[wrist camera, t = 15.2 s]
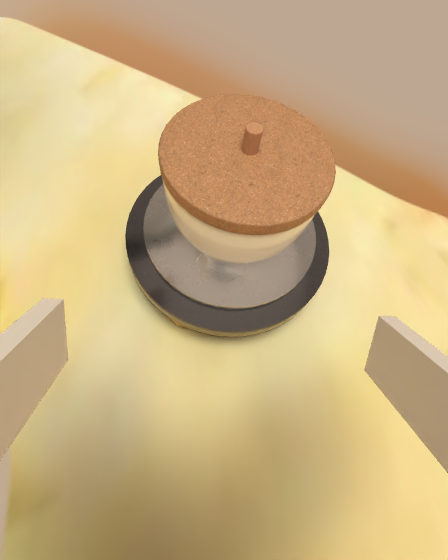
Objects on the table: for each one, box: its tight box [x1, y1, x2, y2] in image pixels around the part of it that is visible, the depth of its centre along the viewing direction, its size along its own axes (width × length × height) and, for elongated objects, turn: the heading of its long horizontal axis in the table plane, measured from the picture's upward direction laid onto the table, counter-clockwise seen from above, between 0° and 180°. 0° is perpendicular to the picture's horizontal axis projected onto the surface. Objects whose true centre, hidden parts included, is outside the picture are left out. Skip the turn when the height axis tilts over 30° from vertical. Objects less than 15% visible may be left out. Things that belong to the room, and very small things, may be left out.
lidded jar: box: [158, 94, 336, 263], centre depth 22 cm, size 11×11×9 cm
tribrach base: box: [126, 175, 329, 337], centre depth 29 cm, size 17×17×5 cm
